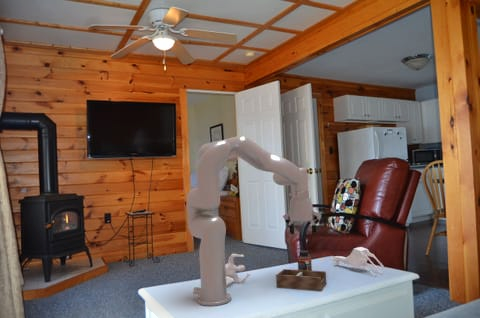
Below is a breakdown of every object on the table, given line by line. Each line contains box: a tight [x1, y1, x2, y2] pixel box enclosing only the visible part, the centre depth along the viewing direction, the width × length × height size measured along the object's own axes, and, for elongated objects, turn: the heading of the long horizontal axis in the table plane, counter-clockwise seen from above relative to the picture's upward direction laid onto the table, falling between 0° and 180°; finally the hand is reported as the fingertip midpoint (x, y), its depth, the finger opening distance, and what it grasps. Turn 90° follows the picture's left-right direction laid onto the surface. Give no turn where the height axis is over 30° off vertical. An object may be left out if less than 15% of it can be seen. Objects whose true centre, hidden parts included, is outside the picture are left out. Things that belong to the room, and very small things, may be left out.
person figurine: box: [225, 253, 250, 287], centre depth 158 cm, size 13×13×18 cm
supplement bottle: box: [297, 250, 313, 271], centre depth 162 cm, size 6×6×11 cm
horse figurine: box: [332, 246, 384, 277], centre depth 169 cm, size 5×16×25 cm
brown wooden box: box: [275, 268, 327, 292], centre depth 150 cm, size 18×10×5 cm, turn 65°
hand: (303, 234), depth 163 cm, fingers open, 9 cm apart
